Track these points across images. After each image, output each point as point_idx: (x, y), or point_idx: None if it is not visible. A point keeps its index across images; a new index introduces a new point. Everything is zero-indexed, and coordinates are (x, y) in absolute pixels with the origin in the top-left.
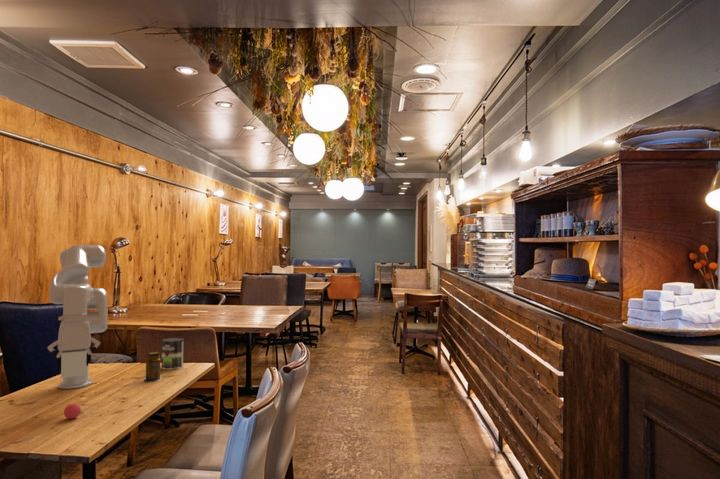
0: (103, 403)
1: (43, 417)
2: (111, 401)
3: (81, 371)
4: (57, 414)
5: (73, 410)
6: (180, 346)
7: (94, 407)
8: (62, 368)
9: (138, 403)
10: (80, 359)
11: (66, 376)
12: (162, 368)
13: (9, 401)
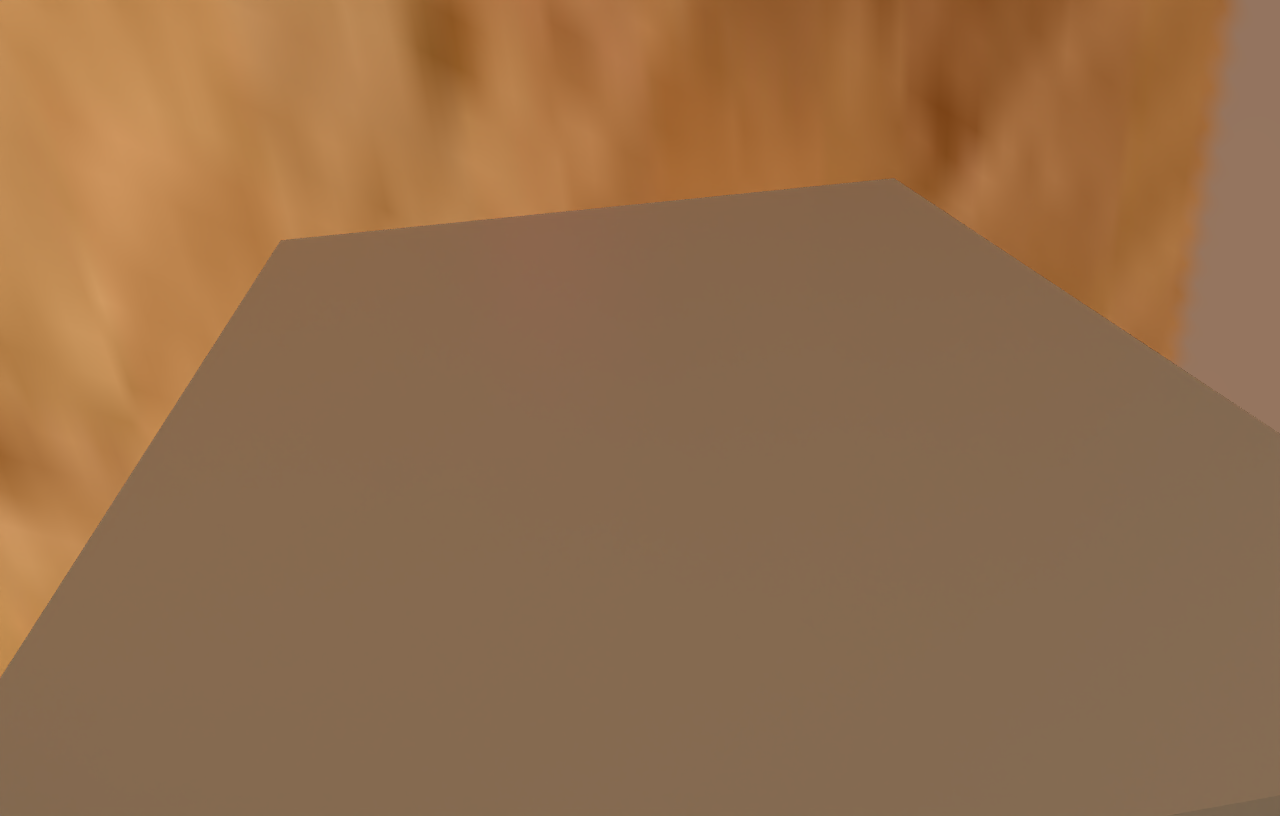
0: (221, 330)
1: (873, 50)
2: (131, 375)
3: (393, 272)
4: (725, 101)
5: None
6: None
7: (301, 200)
8: (994, 274)
9: None
10: (386, 505)
11: (777, 201)
12: None
13: None
